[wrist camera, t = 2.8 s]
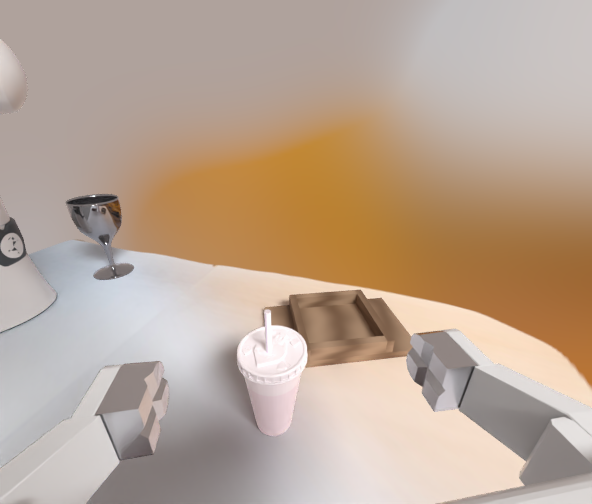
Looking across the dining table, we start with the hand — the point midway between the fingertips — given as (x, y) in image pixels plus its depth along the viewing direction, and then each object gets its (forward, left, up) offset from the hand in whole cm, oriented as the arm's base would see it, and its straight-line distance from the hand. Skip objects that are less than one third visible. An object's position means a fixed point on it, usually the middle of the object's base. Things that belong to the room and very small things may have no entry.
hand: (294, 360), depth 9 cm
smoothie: (0, +12, -21) cm, 24 cm away
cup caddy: (+10, +24, -21) cm, 34 cm away
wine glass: (-30, +48, -21) cm, 61 cm away
